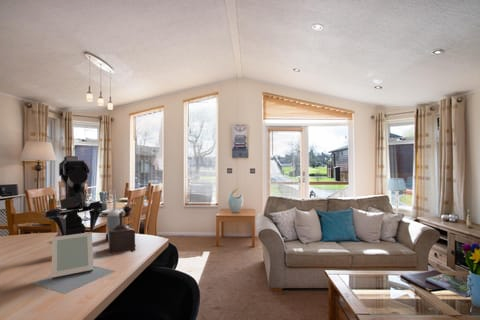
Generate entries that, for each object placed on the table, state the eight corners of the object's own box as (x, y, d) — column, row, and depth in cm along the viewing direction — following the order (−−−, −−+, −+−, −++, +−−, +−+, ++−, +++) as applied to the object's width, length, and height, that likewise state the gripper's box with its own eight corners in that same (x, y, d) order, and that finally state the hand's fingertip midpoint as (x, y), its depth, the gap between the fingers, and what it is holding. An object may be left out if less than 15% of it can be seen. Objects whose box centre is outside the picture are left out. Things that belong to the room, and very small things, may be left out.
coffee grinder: (137, 250, 121) (136, 209, 121) (109, 255, 115) (109, 212, 115) (132, 241, 134) (131, 204, 134) (107, 245, 129) (106, 207, 129)
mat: (31, 285, 88) (31, 283, 88) (84, 265, 104) (84, 263, 104) (64, 296, 81) (64, 293, 81) (115, 273, 97) (115, 270, 97)
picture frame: (52, 278, 92) (52, 238, 96) (92, 270, 98) (91, 233, 102) (51, 277, 89) (52, 237, 94) (93, 269, 96) (91, 231, 100)
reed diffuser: (125, 236, 144) (124, 188, 144) (121, 240, 136) (120, 190, 136) (109, 236, 143) (108, 188, 143) (103, 241, 135) (102, 190, 135)
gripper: (36, 191, 93) (36, 238, 89) (95, 182, 97) (98, 226, 93) (52, 198, 104) (53, 240, 99) (105, 189, 108) (108, 229, 103)
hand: (78, 234), depth 98 cm, fingers open, 9 cm apart
